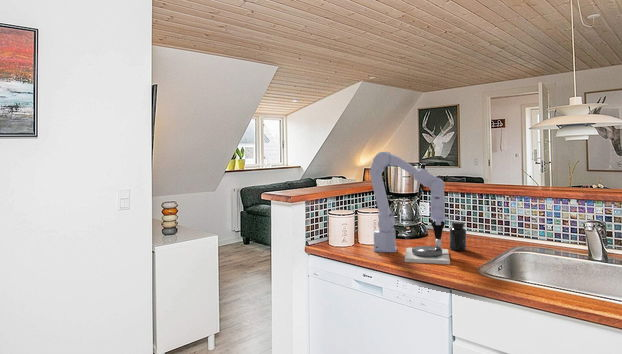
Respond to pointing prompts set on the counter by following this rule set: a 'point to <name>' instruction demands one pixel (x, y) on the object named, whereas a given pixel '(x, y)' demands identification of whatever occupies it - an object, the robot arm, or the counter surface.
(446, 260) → the dial plate
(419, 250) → the dial
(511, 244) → the counter surface
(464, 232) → the supplement bottle
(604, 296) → the counter surface
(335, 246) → the counter surface
